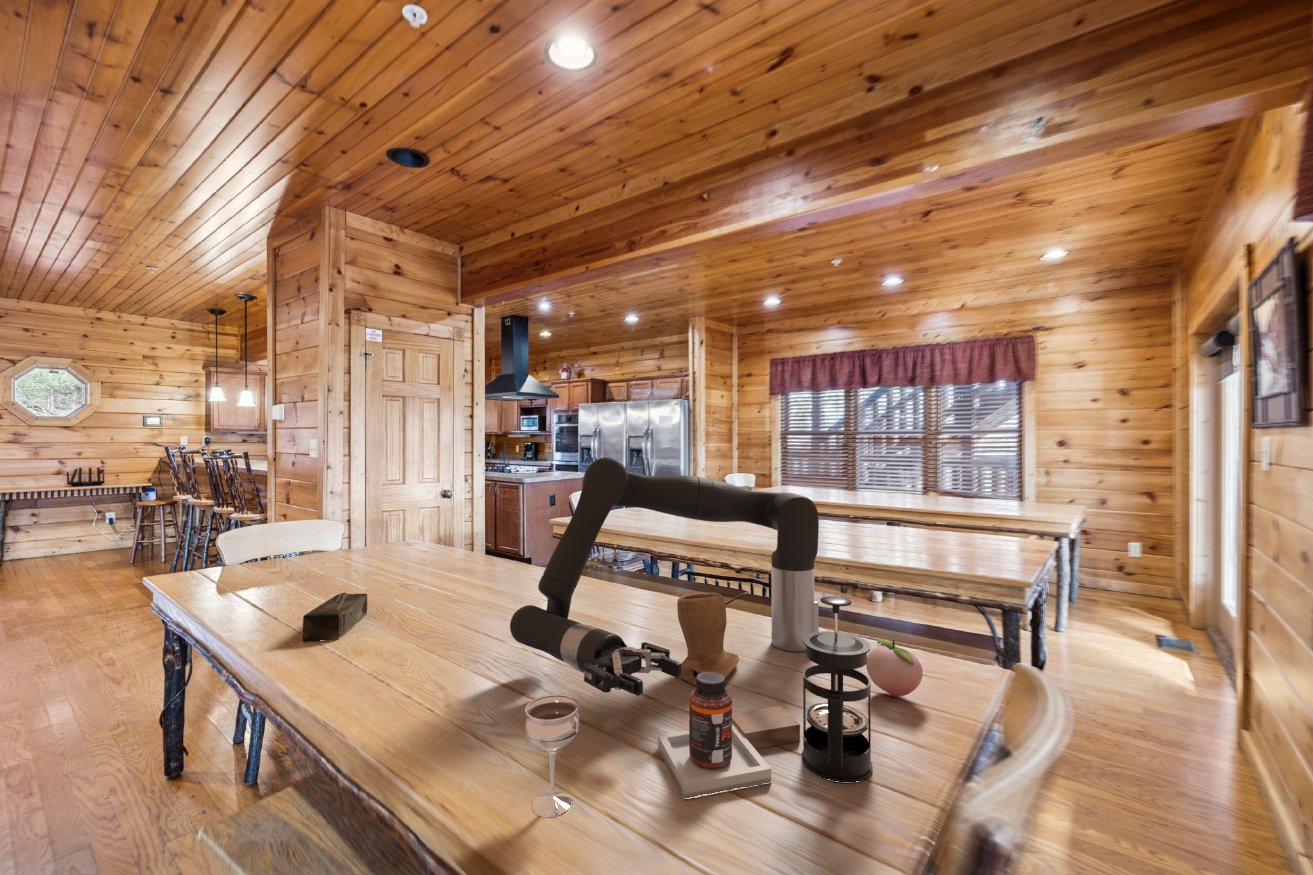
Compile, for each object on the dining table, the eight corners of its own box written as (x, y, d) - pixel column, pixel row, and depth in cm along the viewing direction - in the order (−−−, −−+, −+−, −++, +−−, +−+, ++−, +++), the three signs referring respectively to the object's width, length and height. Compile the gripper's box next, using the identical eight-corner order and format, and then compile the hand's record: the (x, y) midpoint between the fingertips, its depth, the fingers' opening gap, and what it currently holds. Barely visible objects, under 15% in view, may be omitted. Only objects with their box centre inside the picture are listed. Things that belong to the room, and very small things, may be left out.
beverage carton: (369, 615, 143) (369, 589, 143) (339, 642, 124) (339, 613, 124) (336, 616, 141) (336, 591, 141) (300, 644, 122) (300, 614, 122)
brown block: (780, 721, 88) (780, 705, 88) (800, 741, 82) (799, 724, 82) (728, 729, 85) (728, 713, 85) (744, 750, 80) (744, 733, 80)
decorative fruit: (854, 690, 99) (854, 634, 99) (888, 682, 102) (888, 628, 102) (896, 714, 90) (896, 653, 90) (932, 704, 93) (931, 645, 94)
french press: (804, 737, 83) (804, 585, 83) (871, 748, 80) (870, 591, 80) (797, 782, 72) (797, 608, 72) (874, 798, 69) (873, 615, 69)
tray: (733, 736, 84) (733, 723, 84) (771, 783, 72) (771, 768, 72) (658, 748, 80) (658, 734, 80) (684, 800, 69) (684, 784, 69)
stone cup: (691, 653, 116) (691, 582, 116) (745, 663, 111) (745, 589, 111) (659, 681, 103) (659, 601, 103) (718, 694, 97) (718, 610, 97)
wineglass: (513, 814, 66) (513, 714, 66) (543, 781, 72) (543, 690, 73) (562, 828, 64) (562, 725, 64) (589, 793, 70) (589, 699, 70)
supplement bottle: (730, 774, 73) (730, 688, 73) (686, 768, 74) (685, 684, 74) (733, 749, 78) (733, 670, 79) (692, 745, 80) (692, 666, 80)
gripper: (558, 639, 89) (627, 668, 78) (623, 618, 99) (692, 641, 88) (558, 685, 89) (627, 721, 78) (623, 660, 99) (691, 688, 88)
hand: (661, 679), depth 83 cm, fingers open, 8 cm apart
